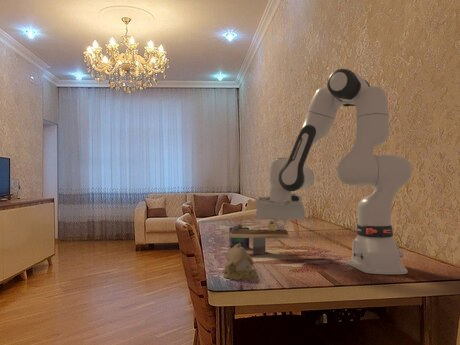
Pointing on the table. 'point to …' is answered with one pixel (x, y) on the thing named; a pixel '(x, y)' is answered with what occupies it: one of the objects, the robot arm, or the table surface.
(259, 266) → the table surface
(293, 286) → the table surface
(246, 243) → the flask
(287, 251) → the table surface
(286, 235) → the beam
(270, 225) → the rider
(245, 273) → the ceramic model
